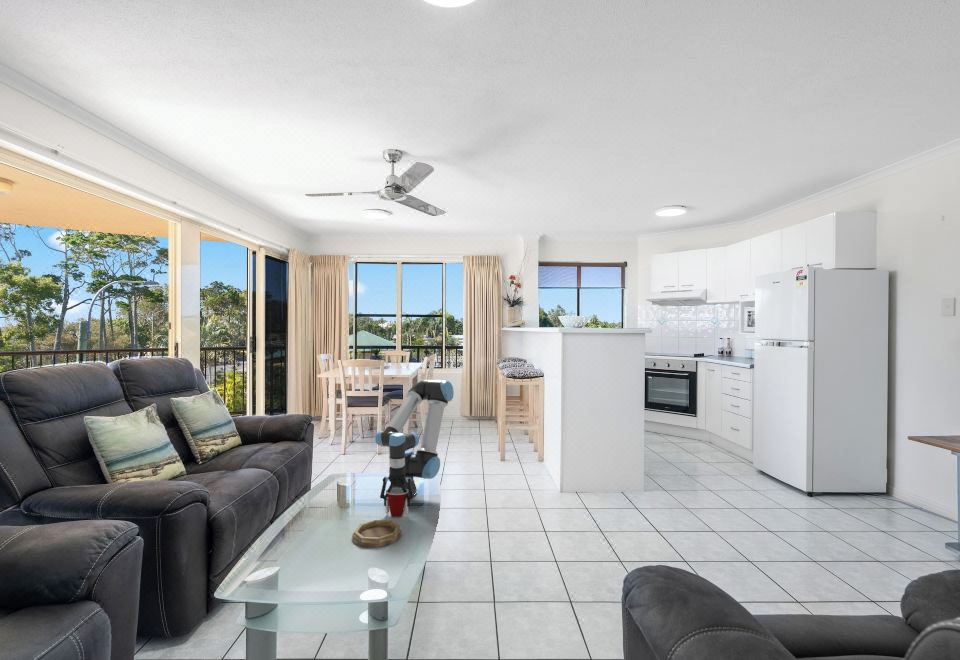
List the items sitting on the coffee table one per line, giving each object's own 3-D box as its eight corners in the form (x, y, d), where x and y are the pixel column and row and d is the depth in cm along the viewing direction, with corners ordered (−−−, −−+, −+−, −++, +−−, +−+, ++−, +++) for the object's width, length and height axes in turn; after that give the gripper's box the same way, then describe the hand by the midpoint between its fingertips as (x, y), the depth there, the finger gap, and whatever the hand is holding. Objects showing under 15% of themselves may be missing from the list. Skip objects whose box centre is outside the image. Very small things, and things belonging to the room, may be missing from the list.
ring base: (386, 521, 208) (386, 515, 208) (411, 537, 192) (411, 530, 192) (343, 534, 194) (343, 527, 194) (366, 552, 179) (366, 545, 179)
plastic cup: (412, 512, 218) (412, 488, 218) (399, 521, 209) (400, 495, 209) (394, 508, 223) (394, 484, 223) (381, 516, 213) (381, 491, 213)
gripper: (372, 467, 213) (372, 515, 213) (417, 468, 211) (417, 516, 211) (377, 463, 220) (377, 509, 220) (420, 464, 219) (420, 510, 219)
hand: (397, 512), depth 216 cm, fingers closed on plastic cup, 9 cm apart
